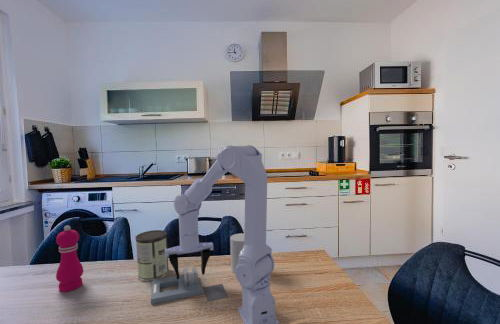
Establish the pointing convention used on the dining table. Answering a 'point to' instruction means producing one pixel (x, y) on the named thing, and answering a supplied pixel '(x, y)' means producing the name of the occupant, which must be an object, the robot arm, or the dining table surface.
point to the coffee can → (151, 255)
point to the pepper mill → (69, 261)
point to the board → (172, 294)
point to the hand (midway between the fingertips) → (190, 275)
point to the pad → (215, 292)
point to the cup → (236, 249)
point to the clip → (190, 277)
